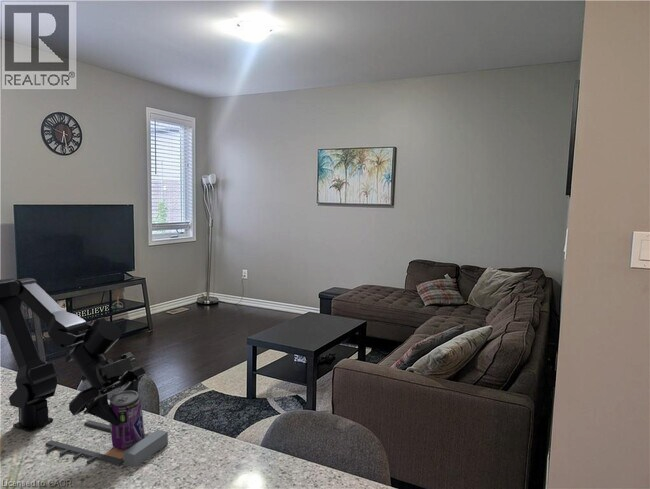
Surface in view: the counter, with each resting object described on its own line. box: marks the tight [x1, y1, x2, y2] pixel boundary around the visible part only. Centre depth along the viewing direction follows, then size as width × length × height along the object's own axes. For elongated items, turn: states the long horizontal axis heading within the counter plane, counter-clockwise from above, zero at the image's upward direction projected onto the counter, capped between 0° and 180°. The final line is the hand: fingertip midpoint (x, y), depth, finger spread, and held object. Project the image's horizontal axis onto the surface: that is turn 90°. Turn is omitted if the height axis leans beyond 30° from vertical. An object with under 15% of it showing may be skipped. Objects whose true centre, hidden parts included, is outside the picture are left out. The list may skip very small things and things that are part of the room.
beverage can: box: [108, 390, 145, 450], centre depth 108 cm, size 7×7×12 cm
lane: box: [45, 419, 169, 469], centre depth 109 cm, size 26×14×3 cm, turn 70°
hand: (129, 418), depth 107 cm, fingers closed on beverage can, 7 cm apart
